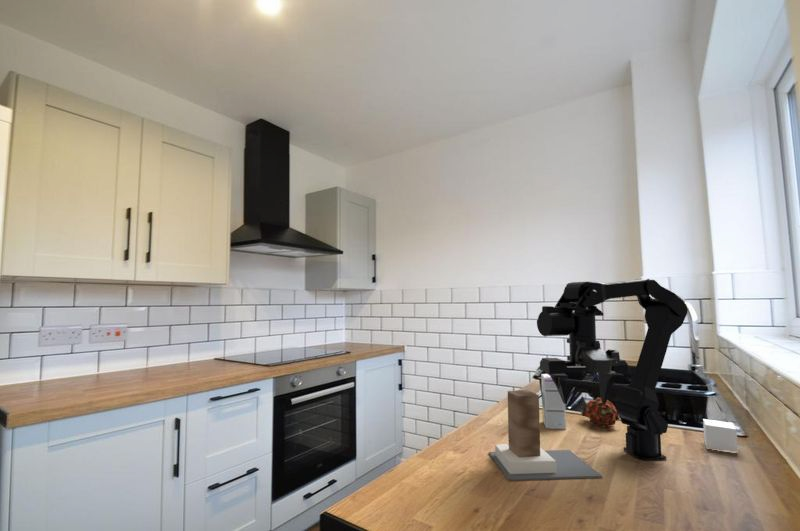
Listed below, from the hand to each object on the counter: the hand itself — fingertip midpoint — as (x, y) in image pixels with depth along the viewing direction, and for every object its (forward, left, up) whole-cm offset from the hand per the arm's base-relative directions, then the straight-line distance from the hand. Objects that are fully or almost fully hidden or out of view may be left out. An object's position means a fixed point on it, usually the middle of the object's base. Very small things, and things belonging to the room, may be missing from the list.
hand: (584, 403), depth 92 cm
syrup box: (-4, -25, -13) cm, 29 cm away
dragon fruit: (-18, -25, -13) cm, 34 cm away
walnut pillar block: (+15, +1, -10) cm, 18 cm away
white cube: (-38, -6, -13) cm, 41 cm away
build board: (+11, +1, -13) cm, 17 cm away
